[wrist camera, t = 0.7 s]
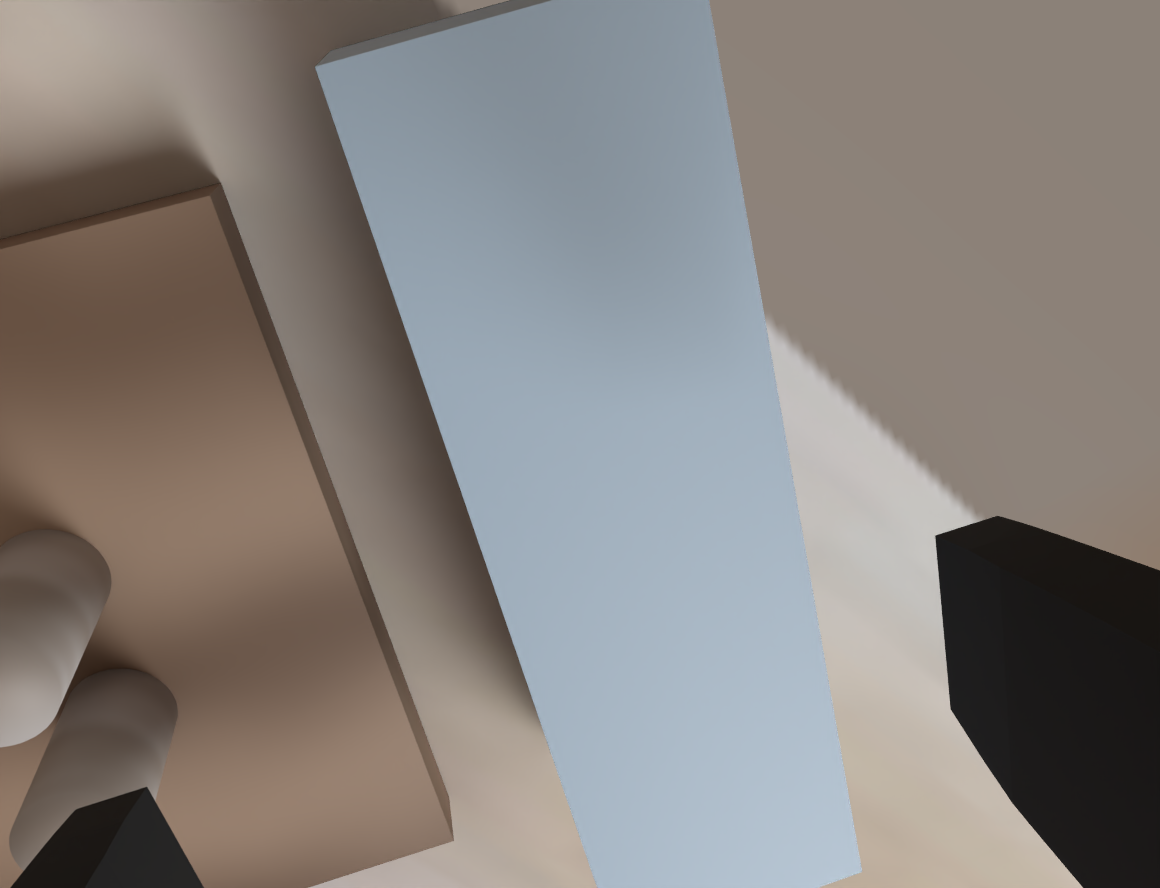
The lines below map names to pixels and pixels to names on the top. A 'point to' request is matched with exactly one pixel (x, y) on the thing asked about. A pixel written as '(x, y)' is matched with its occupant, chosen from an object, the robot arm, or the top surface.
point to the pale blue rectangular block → (612, 419)
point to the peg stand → (185, 569)
